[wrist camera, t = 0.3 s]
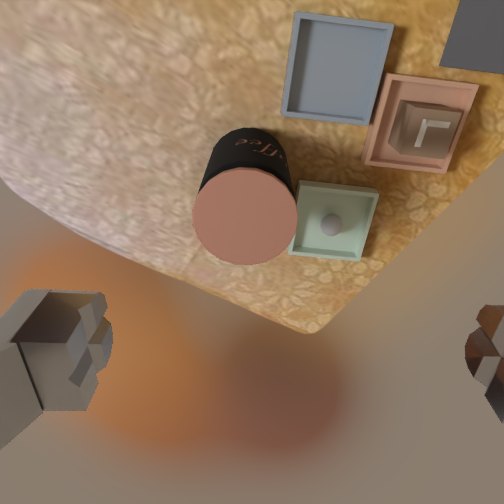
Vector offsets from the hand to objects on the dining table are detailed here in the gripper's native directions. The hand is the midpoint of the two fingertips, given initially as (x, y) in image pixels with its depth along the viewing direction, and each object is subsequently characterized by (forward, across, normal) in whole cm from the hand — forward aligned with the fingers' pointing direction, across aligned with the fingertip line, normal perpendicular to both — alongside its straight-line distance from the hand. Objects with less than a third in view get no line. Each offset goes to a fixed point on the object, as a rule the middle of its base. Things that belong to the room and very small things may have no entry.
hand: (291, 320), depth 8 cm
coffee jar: (+46, +2, +11) cm, 47 cm away
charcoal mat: (+46, -27, -6) cm, 54 cm away
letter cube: (+45, -20, +5) cm, 50 cm away
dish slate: (+46, -8, -1) cm, 47 cm away
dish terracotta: (+46, -20, +5) cm, 50 cm away
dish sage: (+46, -11, +19) cm, 51 cm away
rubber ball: (+45, -11, +19) cm, 50 cm away
